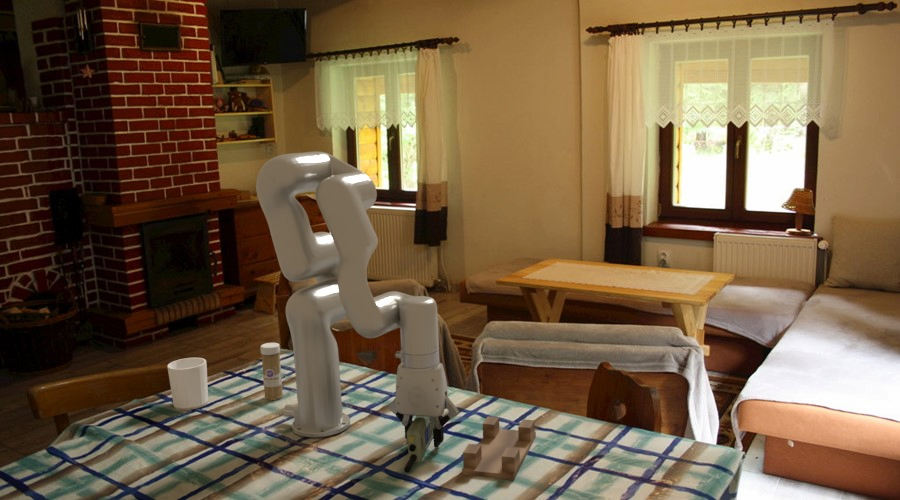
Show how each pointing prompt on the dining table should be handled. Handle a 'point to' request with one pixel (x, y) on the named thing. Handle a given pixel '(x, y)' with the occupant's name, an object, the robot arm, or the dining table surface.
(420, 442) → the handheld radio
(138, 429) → the dining table surface
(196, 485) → the dining table surface
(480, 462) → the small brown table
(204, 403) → the mug
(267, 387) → the sprinkles bottle
